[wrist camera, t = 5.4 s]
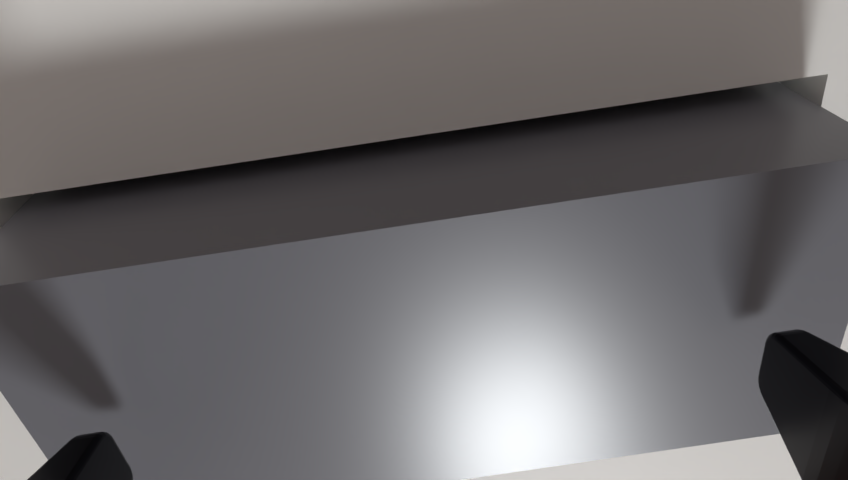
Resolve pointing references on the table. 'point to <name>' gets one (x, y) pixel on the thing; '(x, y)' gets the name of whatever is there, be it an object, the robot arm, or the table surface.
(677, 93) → the white tray
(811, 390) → the robot arm
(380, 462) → the dark grey rectangular block
